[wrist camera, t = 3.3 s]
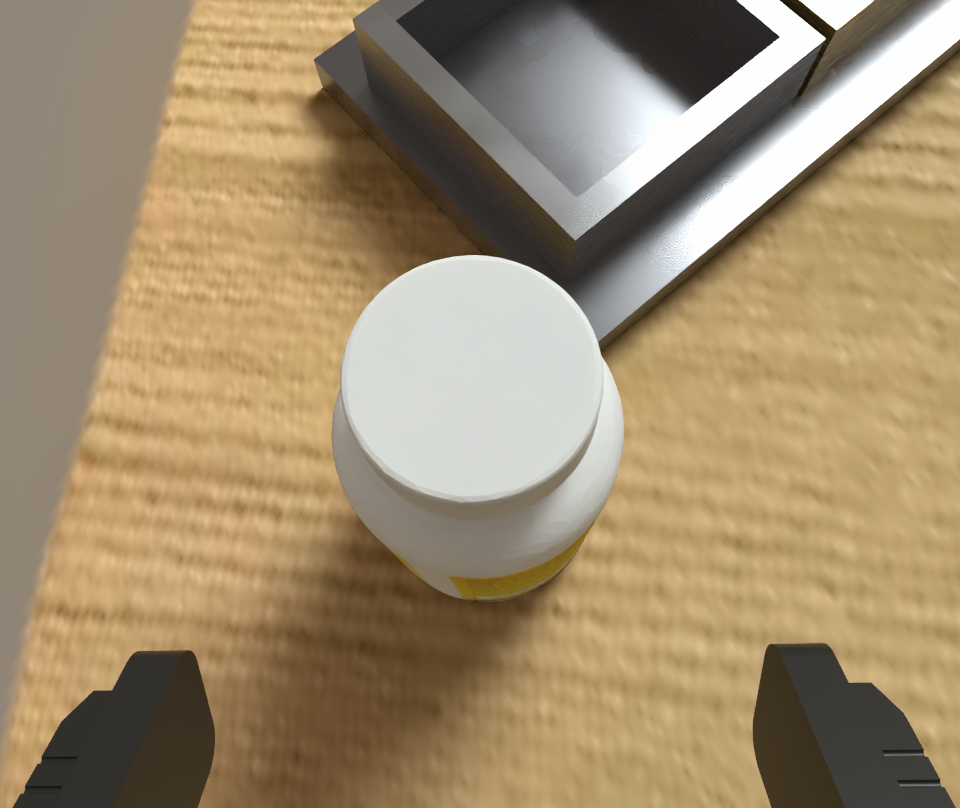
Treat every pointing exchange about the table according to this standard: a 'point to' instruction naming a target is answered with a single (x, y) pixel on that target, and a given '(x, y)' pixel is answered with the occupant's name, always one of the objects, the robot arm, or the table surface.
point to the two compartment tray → (624, 120)
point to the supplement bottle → (477, 425)
